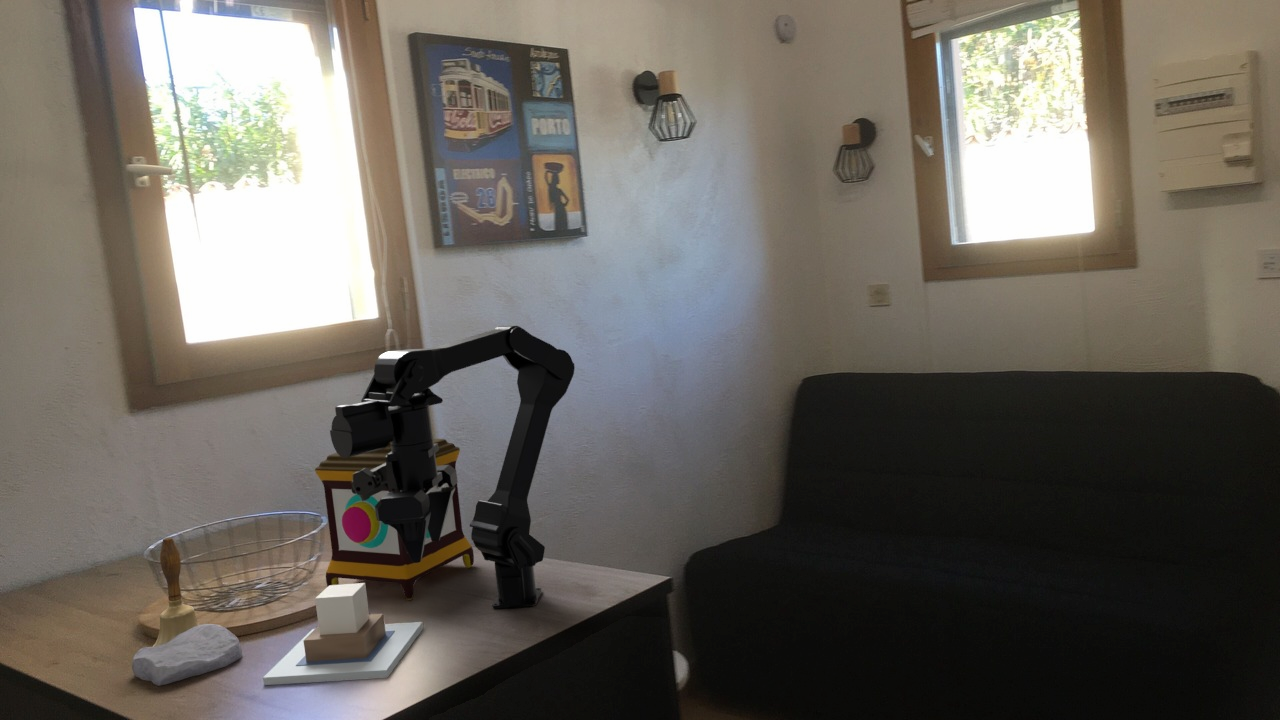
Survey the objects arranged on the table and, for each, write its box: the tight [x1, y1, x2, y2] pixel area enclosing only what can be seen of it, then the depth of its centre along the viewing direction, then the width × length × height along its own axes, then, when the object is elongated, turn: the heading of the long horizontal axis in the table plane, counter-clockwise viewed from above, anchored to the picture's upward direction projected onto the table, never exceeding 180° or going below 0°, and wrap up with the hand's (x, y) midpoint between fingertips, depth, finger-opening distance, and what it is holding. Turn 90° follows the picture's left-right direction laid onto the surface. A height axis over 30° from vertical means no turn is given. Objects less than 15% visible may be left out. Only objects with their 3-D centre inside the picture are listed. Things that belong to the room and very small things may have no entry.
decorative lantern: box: [314, 406, 475, 601], centre depth 158 cm, size 20×20×30 cm
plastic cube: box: [314, 582, 370, 635], centre depth 128 cm, size 5×5×5 cm
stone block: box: [131, 623, 243, 687], centre depth 130 cm, size 12×5×10 cm
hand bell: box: [152, 536, 201, 647], centre depth 137 cm, size 8×8×16 cm
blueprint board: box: [262, 613, 424, 686], centre depth 129 cm, size 16×16×4 cm
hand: (426, 551), depth 133 cm, fingers open, 9 cm apart
